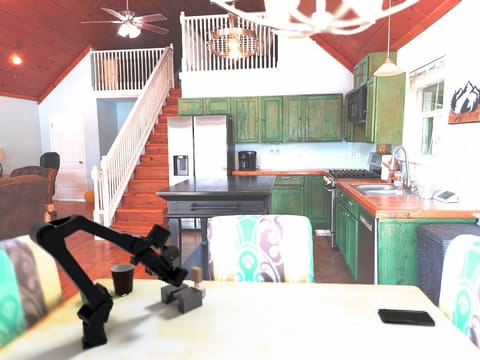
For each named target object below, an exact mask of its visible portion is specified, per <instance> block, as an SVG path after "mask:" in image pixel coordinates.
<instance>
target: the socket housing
mask: <svg viewBox="0 0 480 360" xmlns="http://www.w3.org/2000/svg"><path fill="white" fill-rule="evenodd" d="M160 301H161V303H162V302H163V304H164V303H165V305H166V304H167V305H169V304H172V303H174V302H176V301H177V311H178V312H180V313H182V314H183V313H184V314H185V315H186V314H187V313H189V312H191V311H194V310H195V309H198V308H200V307H202V306H203V304H204V303H203V298H202V291H201V290H199V289H196V288H194V287H193V286H189V284H187V283H184V282H182V284H181V286H180V287H178V288H177V287H175V286H173V285H171V284H166V285H165V286H161V287H160ZM173 301H174V302H173ZM171 302H172V303H171ZM168 303H169V304H168ZM186 312H187V313H186Z"/></svg>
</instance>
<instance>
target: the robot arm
mask: <svg viewBox="0 0 480 360" xmlns="http://www.w3.org/2000/svg"><path fill="white" fill-rule="evenodd" d="M79 231H82V232H85V233H88V234H90V235H93V236H95V237H98V238H99V239H102V240H105V241H107V242H109V243H111V244H112V245H114V246H115V247H117V248H118V249H119V250H121V251H122V252H124V253H128V254H129V255H131V256H130V257H129V259H130V260H129V264H132V265H134V267H136V266H137V267H138V265H139V264H141V265H142V266H143V267H144V273H145V274H147V276H151V277H153V276H155V277H156V278H157V280H159V281H161V282H164V283H166V284H167V285H170V284H171V285H173V286H175V287H177V288H178V287H180V286H181V284H182V283H184V281H185V279H186V278H187V276H188V274H189V270H188V269H187V268H186V267H183V266H179V265H178V266H177V265H176V266H174V264H175V263H174V262H175V261H176V260H177V259H178V258H180V257H181V256H182V253H181V251H180V249H179V247H178V246H176V245H173V244H172V245H166V244H167V242H168V241H169V239H170V238H171V236H172V235H173V234H172V233H171V231H169V229H167V228H165V227H163V226H161V225H160V224H158V223H154V224H153V226H152V228H151V229H150V231H149V232H148V233H147V235H146V236H143V235H136V234H132V233H128V232H124V231H120V230H119V231H118V230H116V229H113V228H111V227H109V226H106V225H104V224H102V223H100V222H98V221H95V220H93V219H90V218H88V217H86V216H85V215H83V214H79V213H73V214H71V215H68V216H66V217H60V218H57V219H53V220H50V221H48V222H47V221H39V222H37V223H36V222H35V223H34V224H33V225H32V226H31V228H30V229H29V232H28V237H29V239H30V240H31V241H32V242H33V243H34V244H35V245H36V246H38V247H39V248H40V249H41V250H43V251H44V252H45V253H46V254H48V255H49V256H50V257H51V258H52V259H53V260H54V261H55V263H56V264H57V266H59V267H60V269H61V270H62V271H63V273H64V274H65V275H66V277H67V278H68V279H69V281H70V282H71V283H72V284H73V285H74V286H75V288H76V289H77V290H78V292H79V295H80V299H81V301H82V303H83V304H81V306H80V308H79V310H77V312H76V315H77V317H78V319H79V320H81V321H82V322H81V323H82V336H81V344H82V345H81V346H82V349H83V350H86V349H85V348H87V349H90V348H93V346H94V347H97V345H98V346H101V345H104V343H105V344H107V343H108V342H109V340H108V337H107V333H106V331H105V329H106V328H105V324H107V323H108V322H109V317H110V313H111V311H112V310H113V307H114V300H113V298H114V296H113V295H111V293H110V292H109V290H108V288H107V287H106V286H105V285H102V284H101V283H100V282H98V281H97V282H95V283H94V282H93V281H92V279H91V278H90V276H88V274H87V273H86V272H85V270H84V269H83V268H82V266H81V265H80V264H79V262H78V260H76V258H75V257H74V255H72V254H71V252H70V251H69V249H68V247H67V243H66V238H68V237H70V236H71V235H73V234H75V233H77V232H79ZM159 249H160V250H159ZM157 250H159V251H160V254H159V253H158V252H157ZM106 342H107V343H106ZM100 344H101V345H100ZM89 347H90V348H89Z"/></svg>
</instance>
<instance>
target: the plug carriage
mask: <svg viewBox="0 0 480 360" xmlns="http://www.w3.org/2000/svg"><path fill="white" fill-rule="evenodd" d="M190 281H191V282H194V284H193V286H192V287H194V288H196V289H199V290H201V291H202V299H203V298H205V297H206V295H207V294H206V287H203V286H200V283H203V269H202V268H201V267H199V266H192V267H190Z"/></svg>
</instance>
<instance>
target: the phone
mask: <svg viewBox="0 0 480 360" xmlns="http://www.w3.org/2000/svg"><path fill="white" fill-rule="evenodd" d="M377 312H378V315H379V317H380V319H381V320H382V321H381V322H383V323H386V324H397V325H398V324H402V325H416V326H417V325H418V326H435V325H436V321H435V320H434V319H433V317H432V316H431V315H430V314H429V312H428V311H426V310H413V309H398V308H397V309H392V308H378V310H377Z"/></svg>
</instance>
